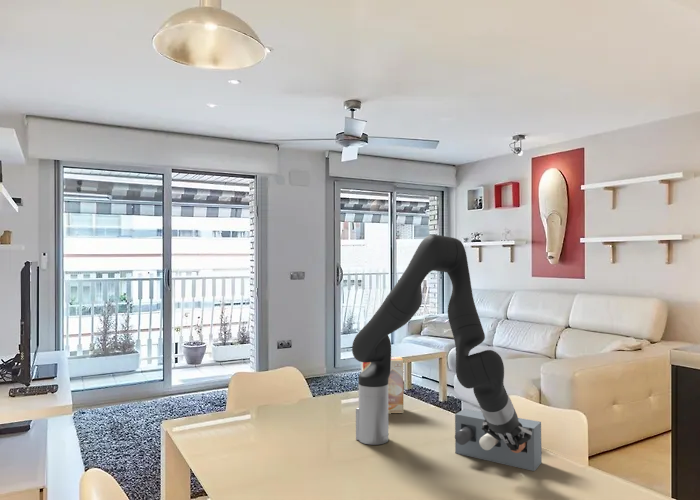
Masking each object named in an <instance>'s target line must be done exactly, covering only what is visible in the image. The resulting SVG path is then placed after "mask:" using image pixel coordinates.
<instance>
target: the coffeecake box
mask: <svg viewBox="0 0 700 500" xmlns="http://www.w3.org/2000/svg"><path fill="white" fill-rule="evenodd" d="M370 364H371V362H367V363H365V362H362V372H363V371H365V370H366V369H367V368H368V367H369V366H370ZM391 413H403V414H404V359H403V357H402V356H391V367H390V376H389V379H388V415H390V414H391ZM391 415H392V414H391Z"/></svg>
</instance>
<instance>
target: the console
mask: <svg viewBox="0 0 700 500" xmlns="http://www.w3.org/2000/svg"><path fill="white" fill-rule="evenodd" d="M484 420H485V418H484V416H483V414H482V412H481V410H475V409H469V408H463V409H462V410H460V411H458V412H457V413H455V414H454V421H455V423H454V426H455V427H454V428H455V429H454V435H455V434H456V433H457V432H458V431H459V430H461V429H462V428H464V427H470V428H472V430H473V431H474V437H473V439H471V440H470V441H468V442H467V443H466V444H464V445H460V444H458V443H457V442H456V440H455V439H454V442H455V443H454V445H455V446H454V447H455V449H454V451H455V454H458V455H461V456H462V455H463V456H466V457H471V458H476V459H480V460H484V461H488V462H493V463H497V464H501V465H505V466H509V467H515V468H519V469H523V470H528V471H532V472H535V471H536V470H537V469H538V468H539V466H540V465H541V464H542V463H543V462H542V460H543V459H542V456H543V455H542V421H538V420H534V419H533V420H532V419H526V418H521V417H518V421H519V422H520V423H521V424H522V427H523V428H526V429H527V428H532V429H533V430H532V435H531V439H530V440H528V441H527V446H526V447H525V448H524V449H523V450H522V451H521V452H519V453H514V452H513V451H511V450H510V448H509V447H508V446H507V444H506V443H505V442H504V441H503V440H502V439H501V441H499V442H498V443H497V444H496V445H495V446H494V447H493V448H491V449H490V450H484V449H483V448H482V447H481V446H480V443H479V440H480V438H481V437H482V436H484V435H485V434H486V433H487V432H485V431H484V430H482V425H483V422H484ZM495 433H496V432H495ZM520 433H521V432H520ZM496 434H497V433H496ZM497 435H498V434H497ZM518 435H519V434H518Z"/></svg>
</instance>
